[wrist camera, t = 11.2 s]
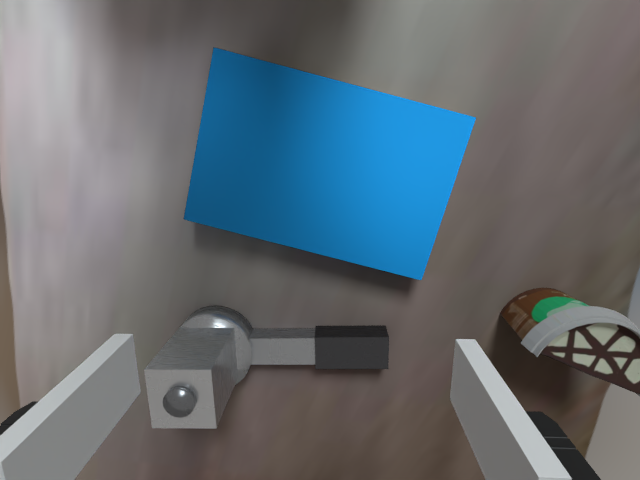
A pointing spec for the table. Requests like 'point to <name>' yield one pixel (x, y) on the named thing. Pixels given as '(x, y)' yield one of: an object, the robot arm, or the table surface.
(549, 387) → the table surface
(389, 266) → the book
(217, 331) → the grey block with knob
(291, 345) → the ratchet
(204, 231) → the table surface
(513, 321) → the food container
